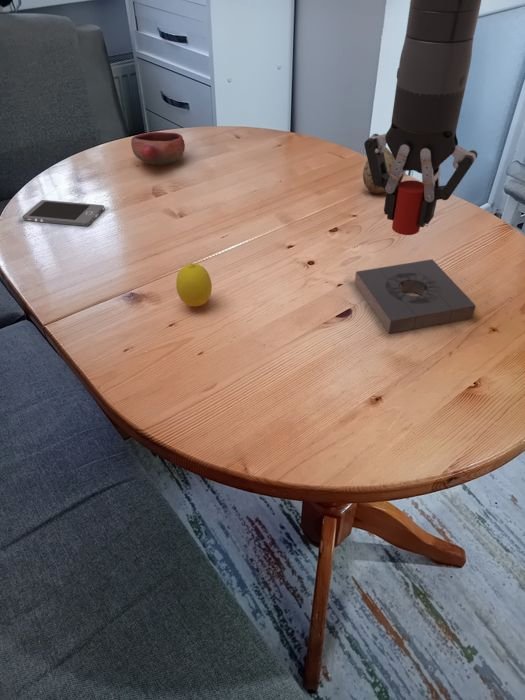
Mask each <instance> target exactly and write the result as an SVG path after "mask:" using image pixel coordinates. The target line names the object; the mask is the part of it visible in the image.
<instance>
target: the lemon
mask: <svg viewBox="0 0 525 700" xmlns="http://www.w3.org/2000/svg"><path fill="white" fill-rule="evenodd" d="M175 282H176V284H175V285H176V286H175V287H176V292H177V295H178V297H179V300H180V301H182V303H184V304H185V305H187V306H190V307H195V308H198V307H200V306H202V305H205V304H206V303H207V302H208V301H209V299H210V298H211V295H212V289H213V287H212V286H213V284H212V280H211V277H210V274H209V272H208V270H207V269H206V268H205V267H204V266H202V265H200V264H198V263H188V264H185V265H184V266H182V268H180V270H179V271H178V273H177V276H176V281H175Z"/></svg>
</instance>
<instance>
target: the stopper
mask: <svg viewBox="0 0 525 700" xmlns="http://www.w3.org/2000/svg"><path fill="white" fill-rule="evenodd" d="M424 199H425V198H424V184H423V183H422V181H419V180H414V179H413V180H402V181H401V183H400V184H399V186H398V192H397V199H396V205H395V211H394V218H393V220H392V224H391V229H392V231H393V232H395V233H396V234H398V235H403V236H413V235H417V234H418V233H419V232H420V229H421V227H419V226H418V221H419V216H420V211H421V206H422V201H423V200H424Z"/></svg>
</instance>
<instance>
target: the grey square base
mask: <svg viewBox="0 0 525 700" xmlns="http://www.w3.org/2000/svg"><path fill="white" fill-rule="evenodd" d="M354 285H355V287H356V288H357V290H358V291H359V293H360V294H361V295H362V297H363V298H364V300H365V301H366V304H368V306H369V307H370V308H371V310H372V312H373V313H374V314H375V316H376V317H377V319H378V320H379V321H380V324H382V326H383V328H384V330H386V332H387V333H388V335H390V334H394V333H402V332H405V331H410V330H411V331H412V330H417V329H422V328H427V327H432V326H439V325H444V324H449V323H456V322H460V321H466V320H470V319H473V317H474V314H475V310H476V308H477V307H476V306H477V305H476V304H475V303H474V302H473V301H472V300H471V299H470V297H468V295H467V294H466V293H465V292H464V291H463V290H462V289H461V288H460V287H459V286H458V284H457V283H455V281H453V280H452V278H450V276H449V275H448V274H447V272H445V271H444V270H443V269H442V268H441V266H440V265H439V264H437V262H435V261H434V259H433V258H432V259H425V260H419V261H413V262H412V261H411V262H407V263H400V264H393V265H388V266H382V267H375V268H370V269H363V270H356V271H355V278H354ZM406 293H414V294H417V295H409V294H406Z"/></svg>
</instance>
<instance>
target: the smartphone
mask: <svg viewBox="0 0 525 700" xmlns="http://www.w3.org/2000/svg"><path fill="white" fill-rule="evenodd" d="M103 211H105V205H104V204H94V203H85V202H84V203H83V202H82V203H81V202H69V201H60V200H48V199H42V200H40V201H38V202H37V203H36V204H35V205H34V206H32V208H30V209H29V210H28V211H26V213H24V214H23V215H22V216H21V217H22V220H23V221H29V222H40V223H47V224H48V223H50V224H58V225H59V224H60V225H70V226H71V225H72V226H81V227H88V226H90V225H91V224H92V223H93V222H94V221H95V220H96V219H97V218H98V216H100V215H101V214H102V213H103Z"/></svg>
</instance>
